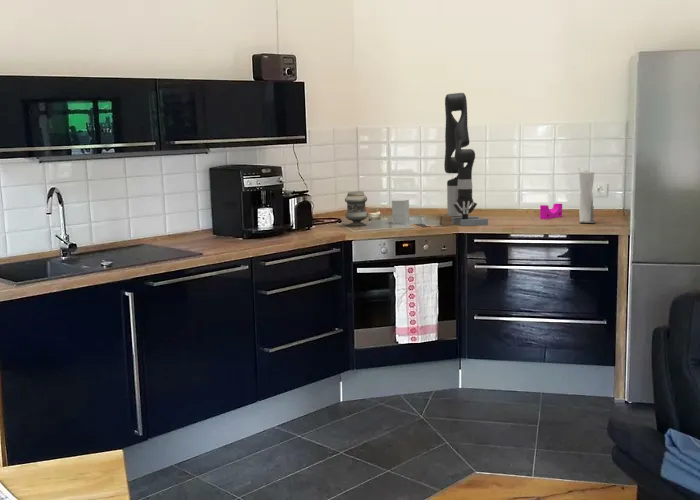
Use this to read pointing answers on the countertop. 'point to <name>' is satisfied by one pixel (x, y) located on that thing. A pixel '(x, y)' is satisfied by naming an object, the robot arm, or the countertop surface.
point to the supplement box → (400, 211)
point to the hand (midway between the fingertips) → (465, 221)
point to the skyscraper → (586, 196)
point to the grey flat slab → (470, 221)
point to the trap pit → (422, 226)
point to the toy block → (550, 211)
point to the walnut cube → (446, 220)
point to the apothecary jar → (356, 208)
